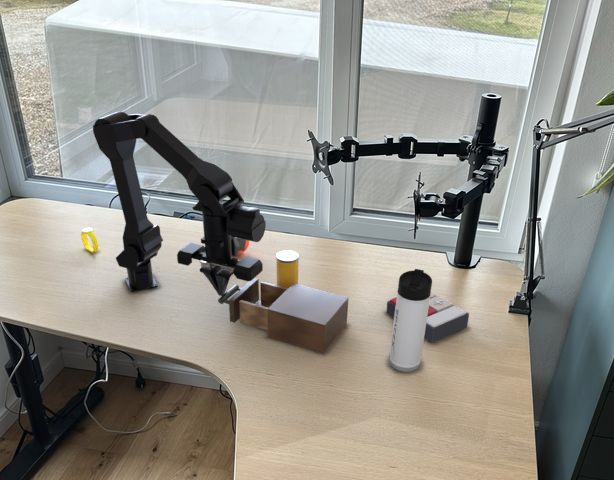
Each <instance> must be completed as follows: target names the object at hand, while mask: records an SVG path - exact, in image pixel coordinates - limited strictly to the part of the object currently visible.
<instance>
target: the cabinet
mask: <svg viewBox="0 0 614 480" xmlns="http://www.w3.org/2000/svg"><path fill="white" fill-rule="evenodd" d="M348 310H349V297H348V296H345V295H341V294H337V293H333V292H329V291H327V290H326V291H325V290H321V289H318V288H314V287H311V286H306V285H302V284H299V283H298V284H295V283H293V284H292V285H291V286H290V287H289V288H288V289H287V290H286V291H285V292H284V293H283V294H282V295H281V296H280V297H279V298H278V299H277V300H276V301H275V302H274V303H273V304H272V305H271V306H270V307H269V308H268V309H267V311H268V312H267V315H268V330H267V338H268V339H271V340H275V341H279V342H281V343H282V342H283V343H285V344H289V345H291V346H296V347H299V348H301V349H305V350H308V351H312V352H315V353H319V354H323V355H325V353H326V352H327V351H328V349H330V347H331V346H332V344H333V343H334V342H335V341H336V339H337V338H338V337H339V335H341V333H342V332H343V331H344V329H345V328H346V327H347V324H348V314H349V313H348V312H349V311H348Z"/></svg>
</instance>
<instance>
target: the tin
mask: <svg viewBox="0 0 614 480" xmlns="http://www.w3.org/2000/svg"><path fill="white" fill-rule="evenodd" d="M275 259H276V285H278V286H282V287H286V288H289V287H290V286H291V285H292V284H293V283H295V284H299V259H300V255H299V253H298V252H296V251H294V250H289V249H288V250H281V251H278V252H277V253H276V254H275Z"/></svg>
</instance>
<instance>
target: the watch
mask: <svg viewBox="0 0 614 480" xmlns="http://www.w3.org/2000/svg"><path fill="white" fill-rule="evenodd" d="M80 233H81V235H80V237H81V241H82V244H83V246H84V248H85V249H86V250H87V251H89V252H90V253H91V254H93V253H96V252H98V251H99V246H100V245H99V241H98V239H97V236H96V234H95V233H94V228H93V227H84V228H82V229H81V232H80ZM87 235H88V236H87ZM88 237H89V238H90V240H91V243H92V246H91V244H90V242H89V240H88Z"/></svg>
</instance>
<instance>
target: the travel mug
mask: <svg viewBox="0 0 614 480" xmlns="http://www.w3.org/2000/svg"><path fill="white" fill-rule="evenodd" d="M397 286H398V287H397V291H396V292H397V293H396V297H397V299H396V307H395V316H394V317H393V324H392V325H393V326H392V335H391V343H390V349H389V350H390V351H389V359H388V360H389V361H388V363H389V365H390V367H392V368H393V369H394V370H397V371H399V372H403V373H410V372H414V371H416V370H417V369H419V368H420V366H421V362H422V354H423V348H424V340H425V338H424V335H425V328H426V322H427V315H428V308H429V302H430V295H431V292H432V286H433V279H432V276H430V274H428V273H426V272H425V270H424V269H418V268H414V270H408V271H405V272H403V273H401V274H400V275H399V277H398V285H397Z"/></svg>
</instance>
